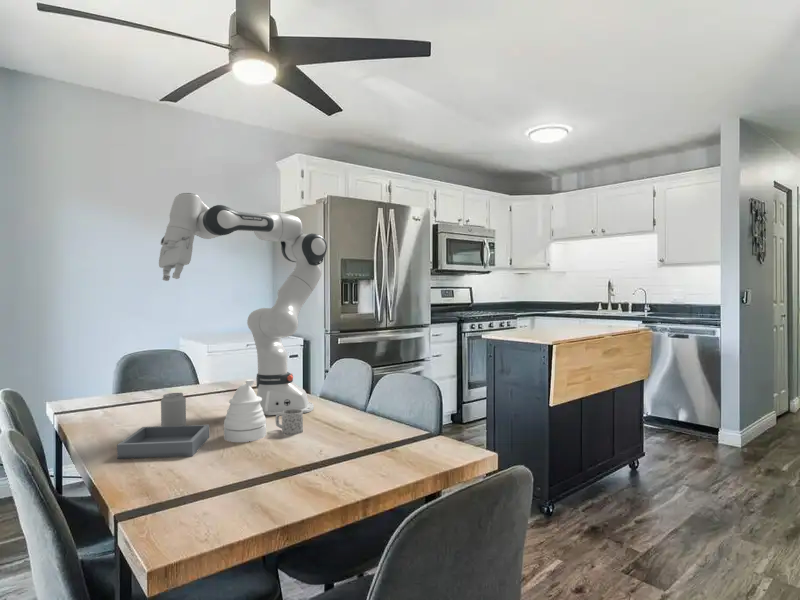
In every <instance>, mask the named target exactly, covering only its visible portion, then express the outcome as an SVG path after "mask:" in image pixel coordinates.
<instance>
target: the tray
mask: <svg viewBox="0 0 800 600" xmlns="http://www.w3.org/2000/svg"><path fill="white" fill-rule="evenodd" d="M210 437H211V436H210V424H191V425H188V424H186V425H183V426H161V425H160V426H156V425H155V426H142V427H141V428H139V429H137V430H136V431H135V432H134V433H131V434H130V435H129V436H128V437H126V438H125V439H123V440H122V441H121V442H119V443H118V444H117V445H116V449H117V451H116V452H117V453H116V457H117V458H116V459H117V460H126V459H128V460H130V459H131V458H134V459H149V458H148V457H160V458H178V457H177V456H185V457H193V456H195V454H196V453H197V452H198V451H199V450H200V448H202V447H203V445H204V444H205V443H206V442H207V441H208V440H209V438H210ZM207 439H208V440H207ZM198 449H199V450H198ZM197 450H198V451H197ZM131 460H132V459H131Z"/></svg>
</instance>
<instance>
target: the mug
mask: <svg viewBox="0 0 800 600" xmlns="http://www.w3.org/2000/svg"><path fill="white" fill-rule="evenodd" d="M303 415H304V413H303V411H302V410H300V409H289V410H284V411H282V412H280V413H277V414H276V415H275V425H276V427H278V428H279V429H281V433H282V434H284V435H290V436H292V435H298V434H301V433H303V432H304V422H303V421H304V419H303V417H304V416H303ZM280 416H281V423H280Z"/></svg>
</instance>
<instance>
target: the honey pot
mask: <svg viewBox="0 0 800 600" xmlns="http://www.w3.org/2000/svg"><path fill="white" fill-rule="evenodd" d="M254 382H255V379H245V383H241V385H239V386H238V387H237V388H236V391H235V392H234V394H233V397H232V398H230V399H229V401H228V403H229V407H228V409H227V410H226V414H225V418H224V420H223V439H224V441H226V440H227V441H226V442H230V441H231V442H230V443H249V441H250V442H255V441H259V440H260V439H263V438H265V437H266V436H267V423H266V422H267V418H266V415H265V414H264V412H263V411H262V410H263V409H262V407H261V405H260V402H261V401H262V398H261V397H259V396H257V393H256V392H255V390H254V389H253V387H252V386H253V385H254Z"/></svg>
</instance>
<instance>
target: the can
mask: <svg viewBox="0 0 800 600" xmlns="http://www.w3.org/2000/svg"><path fill="white" fill-rule="evenodd" d="M186 399H187V398H186V397H185V395H184V393H183V392H170V393H165V394H163V395H162V398H161V400H160V417H161V419H160V421H161V423H160V424H161V425H160V426H183V425H187V408H186V406H187V405H186V404H187V403H186V402H187V401H186Z"/></svg>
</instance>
